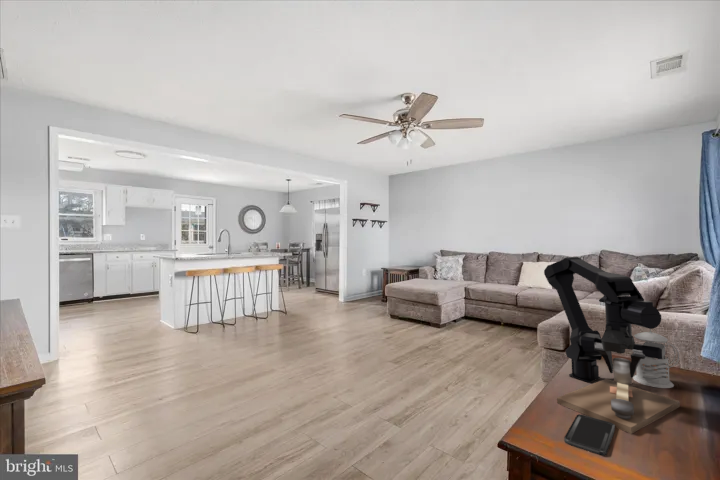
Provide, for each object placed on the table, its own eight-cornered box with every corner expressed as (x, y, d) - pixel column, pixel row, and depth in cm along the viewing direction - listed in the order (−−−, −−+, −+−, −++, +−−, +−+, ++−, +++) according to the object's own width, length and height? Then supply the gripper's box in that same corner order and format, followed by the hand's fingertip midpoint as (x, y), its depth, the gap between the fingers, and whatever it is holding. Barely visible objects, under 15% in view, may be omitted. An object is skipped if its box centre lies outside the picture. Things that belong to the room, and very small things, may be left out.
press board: (557, 403, 93) (556, 394, 93) (606, 383, 104) (606, 375, 104) (631, 434, 77) (630, 423, 77) (679, 406, 89) (679, 397, 89)
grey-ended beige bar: (634, 417, 79) (632, 384, 79) (610, 412, 82) (609, 380, 82) (632, 387, 95) (631, 359, 95) (613, 383, 98) (612, 356, 98)
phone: (563, 439, 75) (577, 413, 86) (563, 444, 75) (577, 417, 86) (606, 453, 69) (616, 423, 80) (606, 459, 69) (616, 428, 80)
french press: (626, 374, 111) (623, 298, 111) (668, 376, 108) (665, 299, 108) (642, 386, 101) (638, 304, 102) (689, 389, 98) (685, 304, 98)
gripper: (571, 320, 97) (574, 374, 97) (656, 331, 83) (660, 394, 83) (583, 314, 104) (587, 364, 104) (663, 322, 90) (667, 380, 90)
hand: (621, 375), depth 95 cm, fingers open, 4 cm apart
